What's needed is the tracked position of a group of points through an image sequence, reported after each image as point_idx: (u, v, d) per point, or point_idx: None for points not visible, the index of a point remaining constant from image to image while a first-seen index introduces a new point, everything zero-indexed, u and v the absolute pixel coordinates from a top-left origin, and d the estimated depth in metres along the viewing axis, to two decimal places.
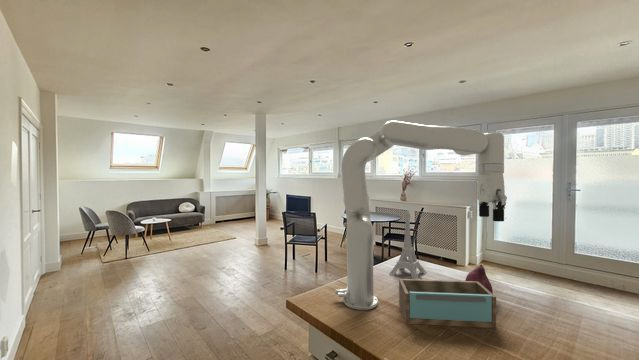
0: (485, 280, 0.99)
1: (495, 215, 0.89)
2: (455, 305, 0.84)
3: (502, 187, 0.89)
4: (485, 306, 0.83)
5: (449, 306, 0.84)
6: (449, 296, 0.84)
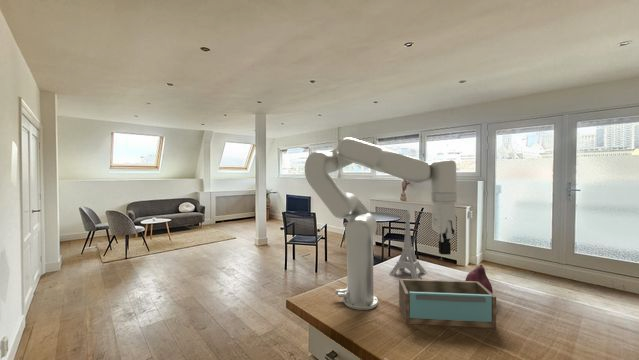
0: (485, 280, 0.99)
1: (442, 248, 0.88)
2: (455, 305, 0.84)
3: (453, 218, 0.84)
4: (485, 306, 0.83)
5: (449, 306, 0.84)
6: (449, 296, 0.84)
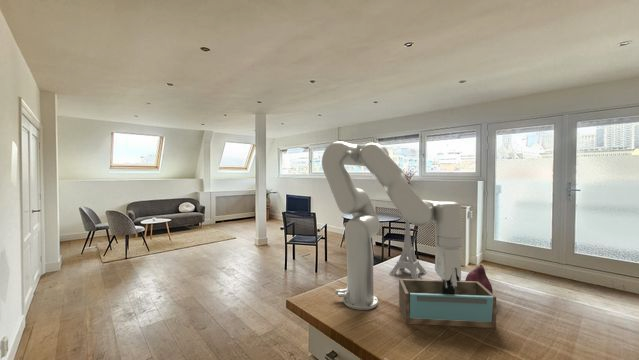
0: (485, 280, 0.99)
1: None
2: (456, 306, 0.83)
3: (458, 265, 0.80)
4: (486, 307, 0.82)
5: (450, 307, 0.83)
6: (450, 298, 0.83)
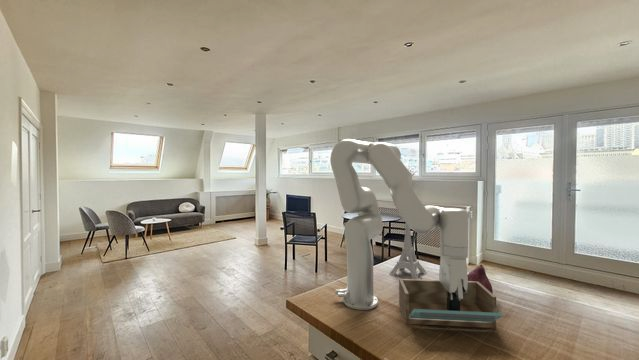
0: (485, 280, 0.99)
1: (450, 306, 0.80)
2: None
3: (465, 277, 0.75)
4: None
5: (453, 316, 0.81)
6: (456, 315, 0.78)
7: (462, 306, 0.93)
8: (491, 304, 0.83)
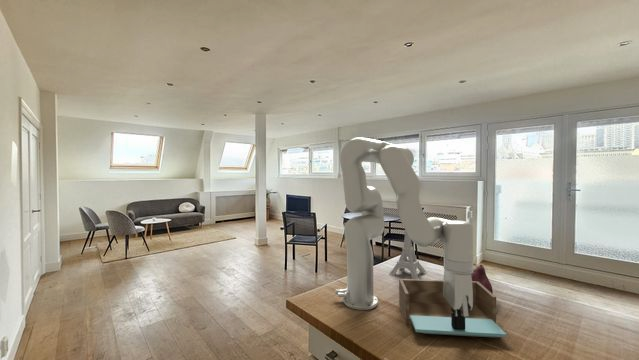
0: (485, 280, 0.99)
1: (455, 323, 0.77)
2: None
3: (470, 293, 0.72)
4: None
5: None
6: (458, 334, 0.77)
7: None
8: (491, 304, 0.83)
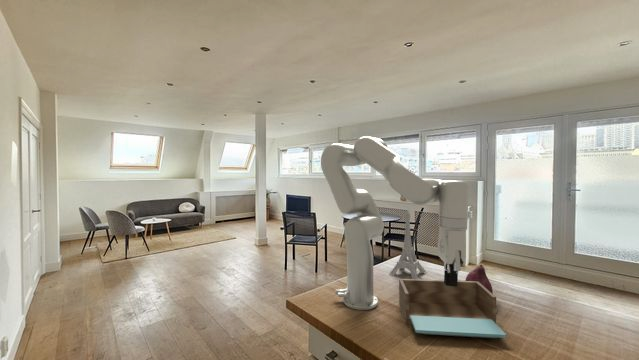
0: (485, 280, 0.99)
1: (447, 279, 0.79)
2: None
3: (463, 248, 0.74)
4: None
5: None
6: (458, 334, 0.77)
7: (462, 306, 0.93)
8: (491, 304, 0.83)
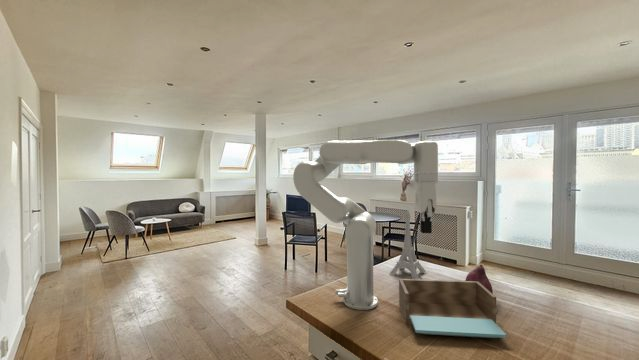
0: (485, 280, 0.99)
1: (423, 227, 0.91)
2: None
3: (433, 197, 0.87)
4: None
5: None
6: (458, 334, 0.77)
7: (462, 306, 0.93)
8: (491, 304, 0.83)
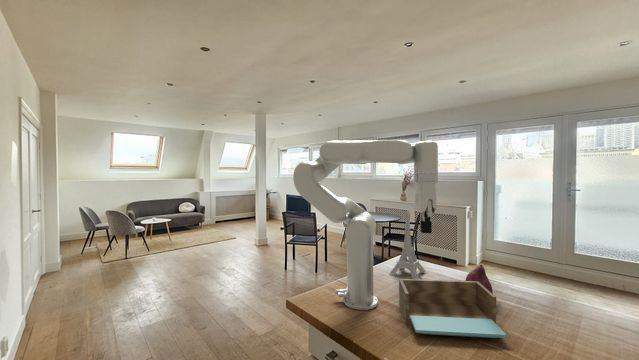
0: (485, 280, 0.99)
1: (423, 227, 0.91)
2: None
3: (433, 197, 0.87)
4: None
5: None
6: (458, 334, 0.77)
7: (462, 306, 0.93)
8: (491, 304, 0.83)
